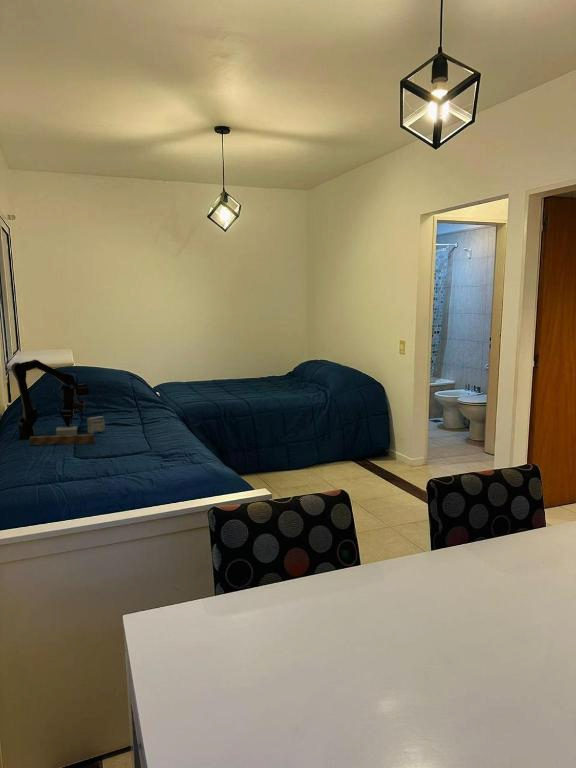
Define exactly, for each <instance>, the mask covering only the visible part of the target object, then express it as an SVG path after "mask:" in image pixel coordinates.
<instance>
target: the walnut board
mask: <svg viewBox="0 0 576 768" xmlns="http://www.w3.org/2000/svg"><path fill="white" fill-rule="evenodd" d="M95 435H96V434H89V433H87V434H77V435H59V436H56V435H40V436H39V435H37V436H33V437H30V439H29V446H30V445H39V446H48V445H47V444H63V445H80V444H81V445H83V444H87V445H88V444H95V442H96V441H95V437H96V436H95Z"/></svg>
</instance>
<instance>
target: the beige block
mask: <svg viewBox="0 0 576 768" xmlns="http://www.w3.org/2000/svg"><path fill="white" fill-rule="evenodd" d="M55 430H56V433H55V436H59V435H78V426H77V425H75V426H74V425H73V426H69V427H67V426H57V427H56V428H55Z"/></svg>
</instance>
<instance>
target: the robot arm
mask: <svg viewBox="0 0 576 768" xmlns="http://www.w3.org/2000/svg"><path fill="white" fill-rule="evenodd" d="M10 369H11V372H12V374H13V376H14V378H15V380H16V382H17V386H18V390H19V391H18V392H19V395H20V399H21V400H20V401H21V403H22V411H21V412H22V413H21V415H22V417H21V418H20V419H19V420H18V421H17V423H18V424H19V427H18V430H19V435H18V436H19V437H18V440H27V439H29V440H30V437H33V436H35V435H36V432H35V427H34V424H35V423H36V422H37V420H38V417H39V415H38V409H37V408H36V407H33V405H32V401H31V396H30V392H29V388H28V383H27V372H28V371H31V370H33V369H38V370H40V371H41V372H44V373H45V374H48V375H51V376H53V377H54V378H55V379H57V380H58V381H59V382H61V383H62V384H61V385H60V386H59V387H58V388H57V389H58V390H60V391H62V410H61V411H60V416H61V418H62V420H63V423H65V427H69V426H70V425H72V423H73V420H74V419H73V418H74V414H75V413H76V412H77V410H80V411H81V412H83V411H84V410H85V407H86V403H85V402H84V400H80V401H76V398H75V396H76V397H77V398H78V397H87V396H89V395H90V390H89V387H88V383H81V384H80V383H79V384H78V383H77V382H76V380H75V376H74V375H72V374H69V373H65V372H62V371H59V370H57V369H55V368H53V367H52V366H49V365H47V364H45V363H43V362H42V361H40V360H38V359H32V360H29V361H23V362H17V361H16V362H14V363H12V365H11V366H10Z"/></svg>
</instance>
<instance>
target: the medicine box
mask: <svg viewBox="0 0 576 768" xmlns="http://www.w3.org/2000/svg"><path fill="white" fill-rule="evenodd" d="M86 419H87V434H89V433H90V434H94V433H97V434H99V433H98V432H102V431H105V430H106V428H105V425H106V424H105V416H103V415H102V416H101V415H98V416H92V417H87V418H86ZM105 432H106V431H105ZM102 433H103V432H102Z"/></svg>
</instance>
